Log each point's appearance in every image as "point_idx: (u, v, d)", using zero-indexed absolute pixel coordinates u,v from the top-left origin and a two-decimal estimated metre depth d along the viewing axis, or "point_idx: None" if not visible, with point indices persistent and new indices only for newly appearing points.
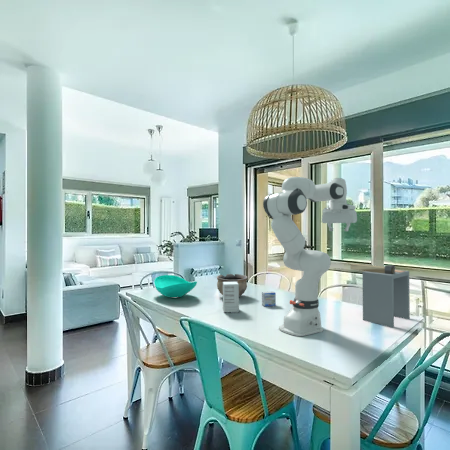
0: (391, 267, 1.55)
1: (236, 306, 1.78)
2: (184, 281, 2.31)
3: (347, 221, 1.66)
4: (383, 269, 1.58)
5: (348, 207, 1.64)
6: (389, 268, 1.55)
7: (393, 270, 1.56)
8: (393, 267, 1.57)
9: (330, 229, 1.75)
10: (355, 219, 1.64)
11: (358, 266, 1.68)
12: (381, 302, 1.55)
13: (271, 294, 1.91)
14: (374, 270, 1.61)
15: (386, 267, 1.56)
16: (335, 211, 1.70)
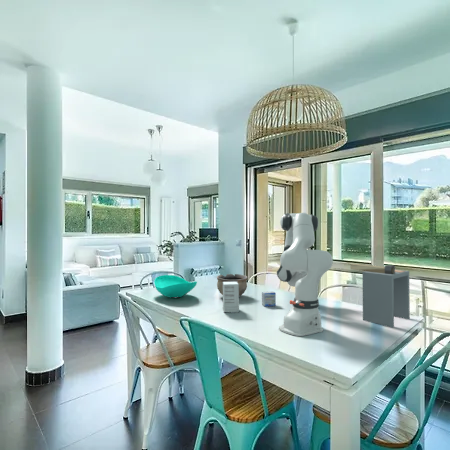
0: (391, 267, 1.55)
1: (236, 306, 1.78)
2: (184, 281, 2.31)
3: None
4: (383, 269, 1.58)
5: None
6: (389, 268, 1.55)
7: (393, 270, 1.56)
8: (393, 267, 1.57)
9: None
10: None
11: (358, 266, 1.68)
12: (381, 302, 1.55)
13: (271, 294, 1.91)
14: (374, 270, 1.61)
15: (386, 267, 1.56)
16: None
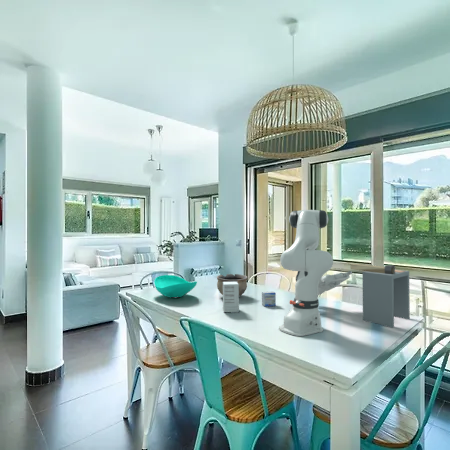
0: (391, 267, 1.55)
1: (236, 306, 1.78)
2: (184, 281, 2.31)
3: None
4: (383, 269, 1.58)
5: None
6: (389, 268, 1.55)
7: (393, 270, 1.56)
8: (393, 267, 1.57)
9: (340, 273, 1.74)
10: None
11: (358, 266, 1.68)
12: (381, 302, 1.55)
13: (271, 294, 1.91)
14: (374, 270, 1.61)
15: (386, 267, 1.56)
16: (329, 275, 1.84)
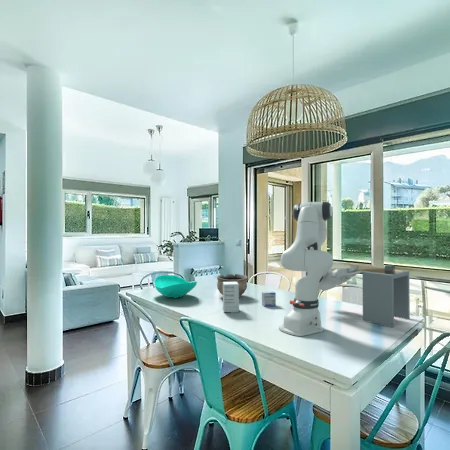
0: (391, 267, 1.55)
1: (236, 306, 1.78)
2: (184, 281, 2.31)
3: None
4: (383, 269, 1.58)
5: None
6: (389, 268, 1.55)
7: (393, 270, 1.56)
8: (393, 267, 1.57)
9: (354, 266, 1.69)
10: None
11: (358, 266, 1.68)
12: (381, 302, 1.55)
13: (271, 294, 1.91)
14: (374, 270, 1.61)
15: (386, 267, 1.56)
16: None
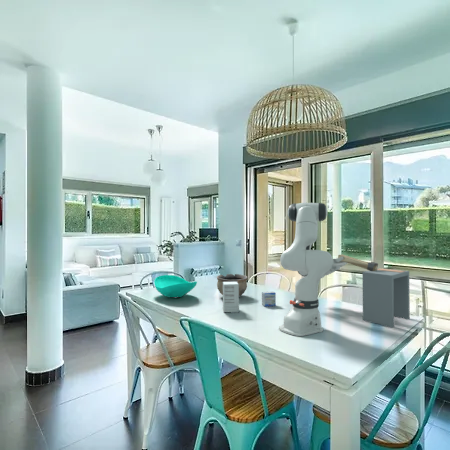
0: (373, 265, 1.64)
1: (236, 306, 1.78)
2: (184, 281, 2.31)
3: None
4: (366, 265, 1.68)
5: None
6: (372, 265, 1.65)
7: (375, 267, 1.66)
8: (376, 265, 1.66)
9: None
10: None
11: (345, 258, 1.78)
12: (381, 302, 1.55)
13: (271, 294, 1.91)
14: (358, 264, 1.71)
15: (369, 264, 1.66)
16: None
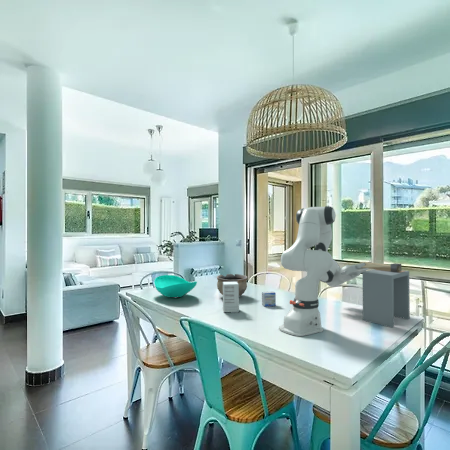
0: (396, 265, 1.60)
1: (236, 306, 1.78)
2: (184, 281, 2.31)
3: None
4: (389, 267, 1.63)
5: None
6: (395, 266, 1.60)
7: (399, 268, 1.61)
8: (399, 265, 1.61)
9: None
10: None
11: (366, 264, 1.74)
12: (381, 302, 1.55)
13: (271, 294, 1.91)
14: (381, 268, 1.67)
15: (392, 265, 1.61)
16: (349, 266, 1.85)
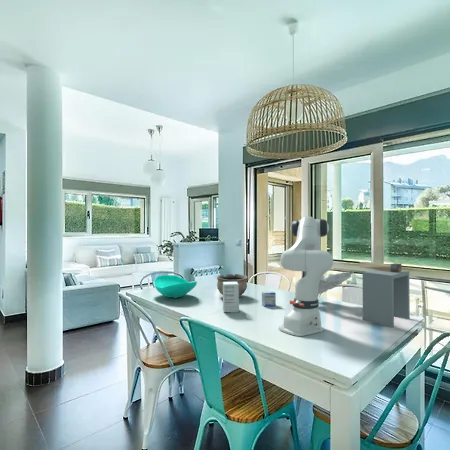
0: (396, 265, 1.60)
1: (236, 306, 1.78)
2: (184, 281, 2.31)
3: (345, 272, 1.94)
4: (389, 267, 1.63)
5: None
6: (395, 266, 1.60)
7: (399, 268, 1.61)
8: (399, 265, 1.61)
9: None
10: None
11: (366, 264, 1.74)
12: (381, 302, 1.55)
13: (271, 294, 1.91)
14: (381, 268, 1.67)
15: (392, 265, 1.61)
16: (332, 275, 1.94)
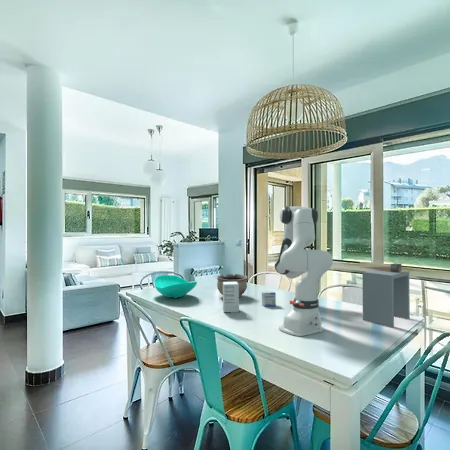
0: (396, 265, 1.60)
1: (236, 306, 1.78)
2: (184, 281, 2.31)
3: None
4: (389, 267, 1.63)
5: None
6: (395, 266, 1.60)
7: (399, 268, 1.61)
8: (399, 265, 1.61)
9: None
10: None
11: (366, 264, 1.74)
12: (381, 302, 1.55)
13: (271, 294, 1.91)
14: (381, 268, 1.67)
15: (392, 265, 1.61)
16: None
